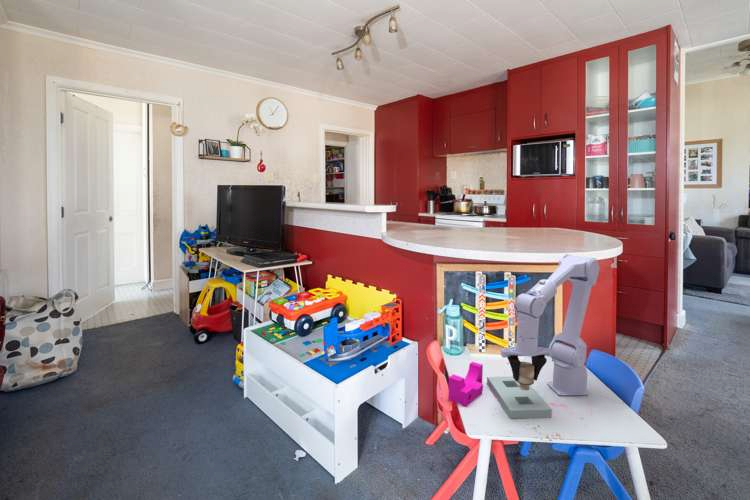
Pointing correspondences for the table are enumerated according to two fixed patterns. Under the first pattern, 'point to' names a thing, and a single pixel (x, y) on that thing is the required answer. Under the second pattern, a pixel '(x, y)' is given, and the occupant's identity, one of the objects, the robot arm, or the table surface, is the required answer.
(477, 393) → the toy block
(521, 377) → the beige rounded lump
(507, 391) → the board
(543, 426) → the table surface
